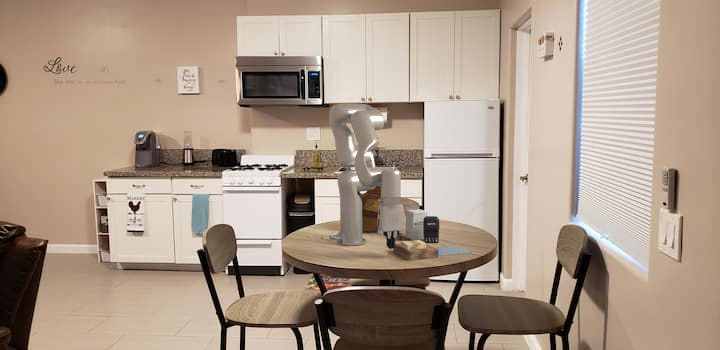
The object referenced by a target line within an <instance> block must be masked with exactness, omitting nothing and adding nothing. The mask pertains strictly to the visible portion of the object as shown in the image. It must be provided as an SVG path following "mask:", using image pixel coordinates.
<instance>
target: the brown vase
mask: <svg viewBox="0 0 720 350" xmlns="http://www.w3.org/2000/svg"><path fill="white" fill-rule="evenodd" d="M357 194H358V195H359V197H360V198H361V201H362V232H363V233H364V232H367V233H368V232H371V233H374V232H378V227H377V219H378V210H379V205H381V203H380V202H378V199H380V198H381V186H376V187H375V188H374V189H373V190H370V191H365V192H364V193H361V191H360V192H357Z"/></svg>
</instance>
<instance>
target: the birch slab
mask: <svg viewBox="0 0 720 350" xmlns="http://www.w3.org/2000/svg"><path fill="white" fill-rule="evenodd" d="M400 244H401V247H403V248H405V249H407V250H412V249H422V248H426V245H427V243H425V242H424V241H422V240H421V239H420V240H404V241H403V240H402V241H400Z"/></svg>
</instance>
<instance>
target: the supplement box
mask: <svg viewBox="0 0 720 350" xmlns="http://www.w3.org/2000/svg"><path fill="white" fill-rule="evenodd" d="M425 216H428V211H427V210H424V209H420V208H419V209H418V208H417V209H406V210H405V238H406V239H409V240H410V241H413V240H420V241H421V240H423V219H424V217H425Z"/></svg>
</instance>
